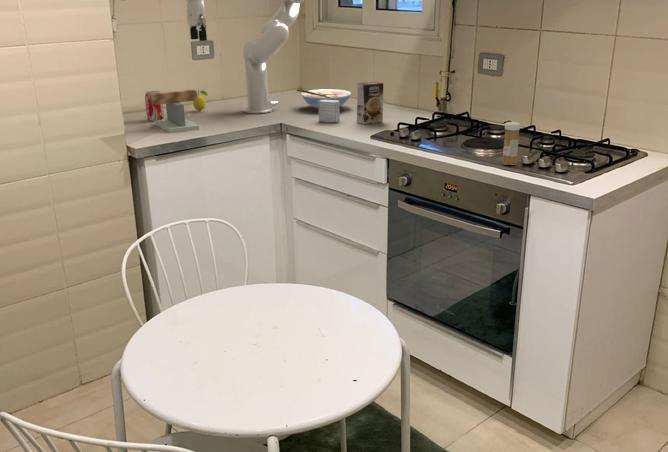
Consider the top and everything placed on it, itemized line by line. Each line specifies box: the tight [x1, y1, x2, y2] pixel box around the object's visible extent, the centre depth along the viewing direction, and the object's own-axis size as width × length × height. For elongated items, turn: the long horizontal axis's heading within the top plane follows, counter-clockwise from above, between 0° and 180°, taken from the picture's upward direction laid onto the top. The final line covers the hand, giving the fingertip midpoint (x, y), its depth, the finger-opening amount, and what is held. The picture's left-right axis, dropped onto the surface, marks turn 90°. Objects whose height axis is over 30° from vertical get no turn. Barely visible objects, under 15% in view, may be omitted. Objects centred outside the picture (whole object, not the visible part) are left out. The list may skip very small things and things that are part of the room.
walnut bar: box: [151, 89, 198, 105], centre depth 261 cm, size 18×3×4 cm, turn 122°
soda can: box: [144, 90, 165, 122], centre depth 276 cm, size 7×7×12 cm
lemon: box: [192, 90, 209, 112], centre depth 294 cm, size 7×6×10 cm
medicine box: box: [318, 100, 341, 123], centre depth 271 cm, size 8×4×9 cm, turn 71°
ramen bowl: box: [296, 88, 352, 110], centre depth 297 cm, size 25×23×8 cm
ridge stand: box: [154, 102, 200, 134], centre depth 264 cm, size 12×19×10 cm, turn 32°
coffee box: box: [356, 81, 384, 125], centre depth 267 cm, size 9×6×16 cm
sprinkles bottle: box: [501, 121, 521, 165], centre depth 204 cm, size 5×5×13 cm
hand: (198, 39), depth 275 cm, fingers open, 9 cm apart
